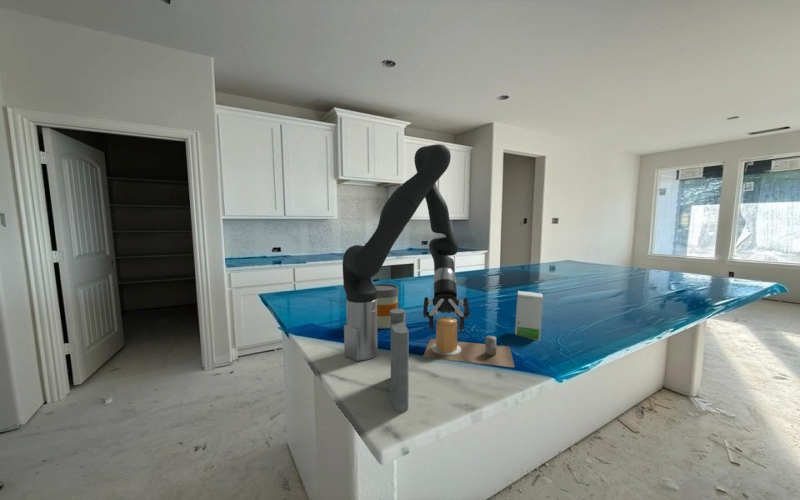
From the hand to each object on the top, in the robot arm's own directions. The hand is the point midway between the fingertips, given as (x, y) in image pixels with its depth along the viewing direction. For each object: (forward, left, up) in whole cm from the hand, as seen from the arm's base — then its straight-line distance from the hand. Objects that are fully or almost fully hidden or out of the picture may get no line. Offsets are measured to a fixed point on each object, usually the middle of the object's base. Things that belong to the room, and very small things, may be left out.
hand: (446, 329), depth 92 cm
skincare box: (+31, -13, -8) cm, 35 cm away
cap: (+1, 0, -6) cm, 6 cm away
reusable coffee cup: (+6, +34, -8) cm, 35 cm away
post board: (+3, -5, -8) cm, 10 cm away
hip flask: (-25, -2, -8) cm, 26 cm away
